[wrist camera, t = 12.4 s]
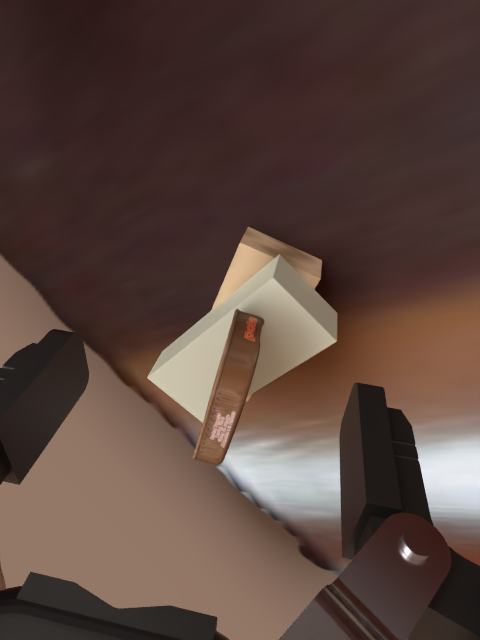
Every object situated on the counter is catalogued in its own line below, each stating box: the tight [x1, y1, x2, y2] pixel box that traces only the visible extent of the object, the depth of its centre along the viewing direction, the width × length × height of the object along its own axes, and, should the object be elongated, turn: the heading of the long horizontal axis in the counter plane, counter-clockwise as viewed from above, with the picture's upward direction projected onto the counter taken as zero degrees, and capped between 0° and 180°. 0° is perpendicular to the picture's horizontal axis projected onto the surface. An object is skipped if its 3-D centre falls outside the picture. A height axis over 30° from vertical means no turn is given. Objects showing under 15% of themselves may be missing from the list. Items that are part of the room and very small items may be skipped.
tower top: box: [147, 254, 337, 423], centre depth 41 cm, size 8×18×4 cm, turn 136°
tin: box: [193, 309, 264, 465], centre depth 35 cm, size 15×3×8 cm, turn 166°
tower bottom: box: [211, 227, 322, 402], centre depth 44 cm, size 8×18×4 cm, turn 158°
